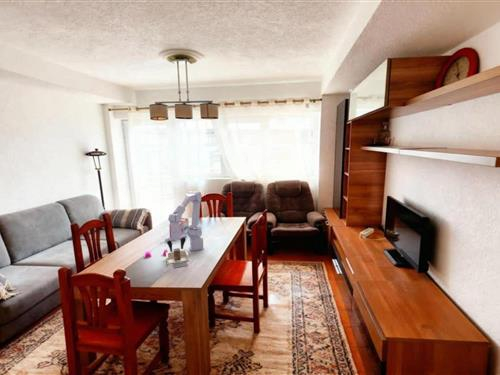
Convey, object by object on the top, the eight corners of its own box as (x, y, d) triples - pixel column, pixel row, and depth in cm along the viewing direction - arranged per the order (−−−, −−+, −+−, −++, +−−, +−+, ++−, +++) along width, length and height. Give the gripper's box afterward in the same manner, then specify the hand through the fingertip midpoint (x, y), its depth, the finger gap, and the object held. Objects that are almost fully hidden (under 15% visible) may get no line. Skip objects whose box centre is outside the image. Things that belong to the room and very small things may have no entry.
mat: (186, 262, 183) (186, 261, 183) (188, 266, 176) (188, 265, 176) (172, 264, 180) (172, 263, 180) (173, 268, 173) (173, 267, 173)
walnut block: (179, 257, 189) (179, 248, 188) (180, 259, 185) (180, 250, 184) (174, 258, 187) (173, 248, 186) (174, 260, 184) (173, 251, 183)
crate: (186, 255, 194) (186, 249, 193) (188, 260, 185) (188, 254, 184) (166, 258, 189) (165, 252, 188) (167, 264, 180) (166, 258, 179)
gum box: (176, 240, 226) (175, 225, 224) (168, 239, 228) (167, 225, 226) (189, 232, 247) (188, 218, 245) (181, 231, 249) (181, 218, 247)
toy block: (145, 265, 190) (144, 255, 189) (146, 262, 196) (145, 252, 194) (168, 262, 194) (167, 252, 193) (167, 258, 200) (167, 249, 199)
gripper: (183, 227, 191) (184, 245, 193) (162, 231, 182) (164, 250, 184) (187, 229, 185) (188, 248, 187) (166, 234, 176) (167, 253, 179)
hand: (176, 250), depth 185 cm, fingers open, 7 cm apart
